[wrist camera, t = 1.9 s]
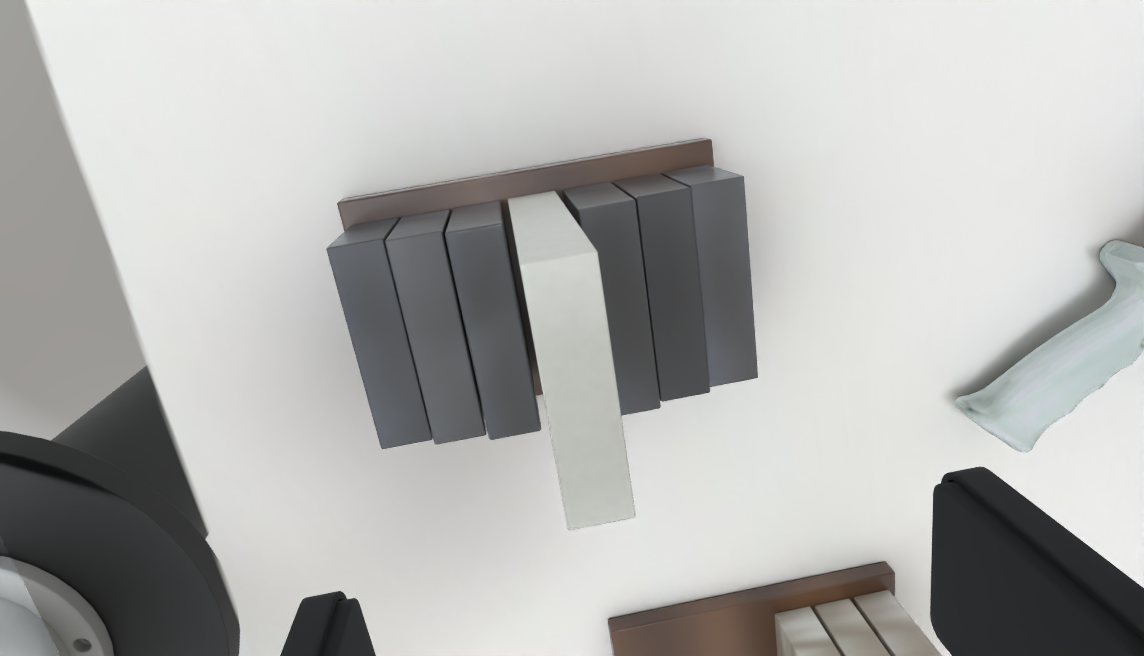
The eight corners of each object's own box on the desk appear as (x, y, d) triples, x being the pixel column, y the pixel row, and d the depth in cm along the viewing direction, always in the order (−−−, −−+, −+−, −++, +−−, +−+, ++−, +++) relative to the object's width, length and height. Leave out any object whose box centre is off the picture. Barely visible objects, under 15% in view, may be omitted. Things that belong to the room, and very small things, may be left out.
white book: (539, 374, 31) (568, 531, 20) (507, 198, 29) (519, 264, 17) (583, 366, 32) (636, 518, 20) (555, 190, 29) (597, 250, 18)
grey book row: (397, 413, 32) (375, 487, 26) (341, 199, 29) (301, 226, 23) (723, 352, 33) (776, 410, 27) (705, 137, 30) (760, 148, 24)
